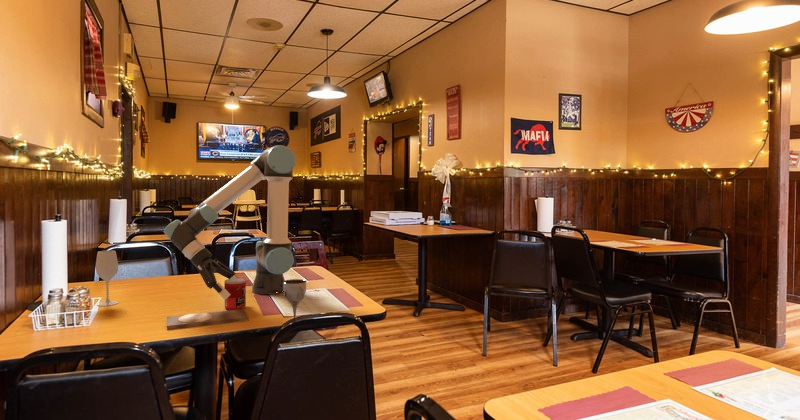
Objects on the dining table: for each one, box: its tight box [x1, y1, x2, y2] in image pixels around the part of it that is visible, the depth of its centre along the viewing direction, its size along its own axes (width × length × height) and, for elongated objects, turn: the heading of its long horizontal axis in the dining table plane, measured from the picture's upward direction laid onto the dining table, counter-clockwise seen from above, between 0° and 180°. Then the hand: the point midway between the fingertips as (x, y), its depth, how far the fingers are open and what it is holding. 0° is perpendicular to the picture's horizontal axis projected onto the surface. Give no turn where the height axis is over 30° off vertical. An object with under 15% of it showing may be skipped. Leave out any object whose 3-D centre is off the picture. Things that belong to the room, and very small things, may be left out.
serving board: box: [166, 308, 249, 330], centre depth 168 cm, size 26×12×2 cm, turn 116°
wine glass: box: [283, 278, 307, 319], centre depth 165 cm, size 8×8×15 cm
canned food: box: [223, 277, 247, 311], centre depth 185 cm, size 8×8×11 cm
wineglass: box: [95, 249, 119, 307], centre depth 188 cm, size 8×8×21 cm
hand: (235, 293), depth 185 cm, fingers open, 13 cm apart
